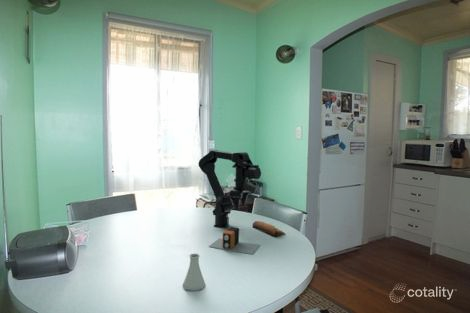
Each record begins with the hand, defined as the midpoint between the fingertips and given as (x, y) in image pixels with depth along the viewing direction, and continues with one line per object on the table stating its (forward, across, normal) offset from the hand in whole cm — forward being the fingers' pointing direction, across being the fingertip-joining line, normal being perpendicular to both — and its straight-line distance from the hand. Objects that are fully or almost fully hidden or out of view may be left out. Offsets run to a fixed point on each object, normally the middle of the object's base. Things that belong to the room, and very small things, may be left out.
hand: (240, 207), depth 147 cm
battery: (+8, -16, -3) cm, 18 cm away
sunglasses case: (+13, +6, -14) cm, 20 cm away
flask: (+12, -57, -5) cm, 59 cm away
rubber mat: (+12, -20, -5) cm, 24 cm away
